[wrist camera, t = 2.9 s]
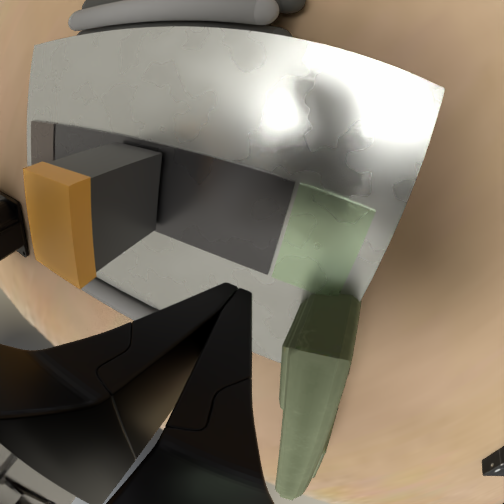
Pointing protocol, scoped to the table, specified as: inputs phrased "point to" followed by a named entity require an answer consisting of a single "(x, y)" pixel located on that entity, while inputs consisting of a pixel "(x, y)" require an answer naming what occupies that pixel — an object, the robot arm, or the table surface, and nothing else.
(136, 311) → the grey rounded rod
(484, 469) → the disk drive
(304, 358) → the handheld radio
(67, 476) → the robot arm
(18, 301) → the table surface
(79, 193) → the lever
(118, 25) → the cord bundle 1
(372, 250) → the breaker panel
